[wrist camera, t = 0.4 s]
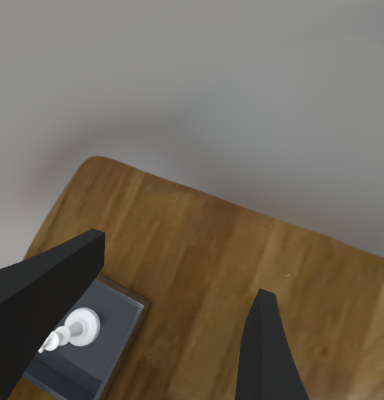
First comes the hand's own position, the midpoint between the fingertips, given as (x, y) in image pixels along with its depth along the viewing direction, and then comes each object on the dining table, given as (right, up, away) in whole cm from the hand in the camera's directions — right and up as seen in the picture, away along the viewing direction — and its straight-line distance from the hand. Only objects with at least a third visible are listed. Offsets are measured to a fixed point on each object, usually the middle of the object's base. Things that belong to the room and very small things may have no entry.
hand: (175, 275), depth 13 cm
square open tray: (-14, -14, +28) cm, 34 cm away
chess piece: (-14, -14, +27) cm, 34 cm away
